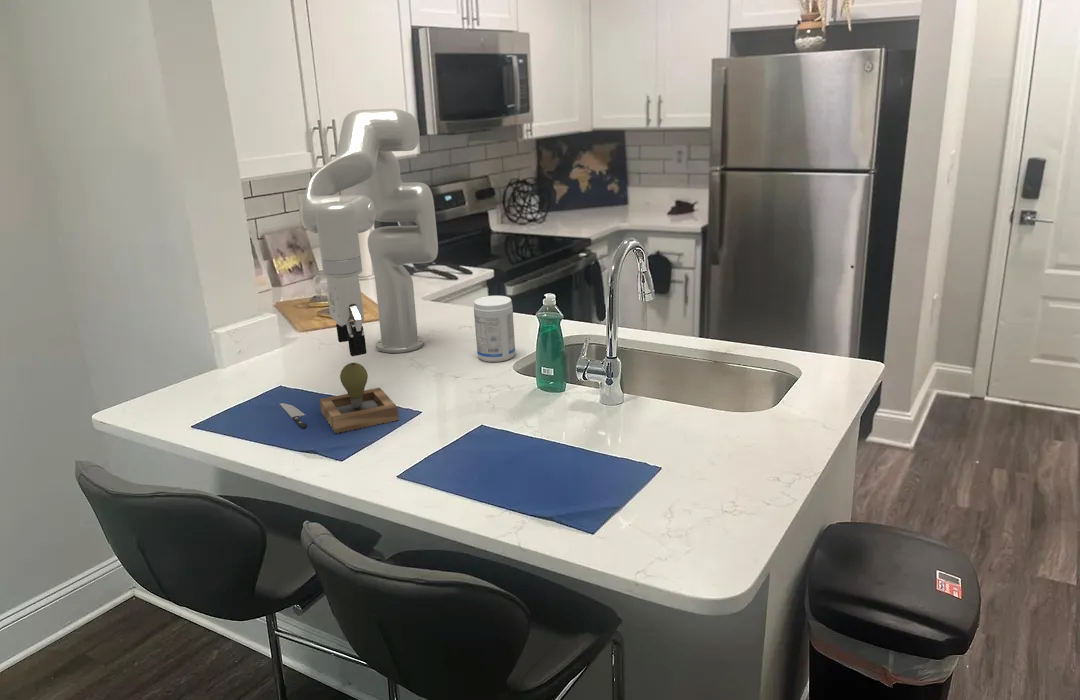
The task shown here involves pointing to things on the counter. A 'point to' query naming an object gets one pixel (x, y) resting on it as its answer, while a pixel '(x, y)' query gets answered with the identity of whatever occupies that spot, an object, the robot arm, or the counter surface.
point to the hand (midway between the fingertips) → (352, 347)
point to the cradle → (358, 411)
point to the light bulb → (354, 382)
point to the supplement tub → (494, 328)
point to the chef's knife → (294, 414)
